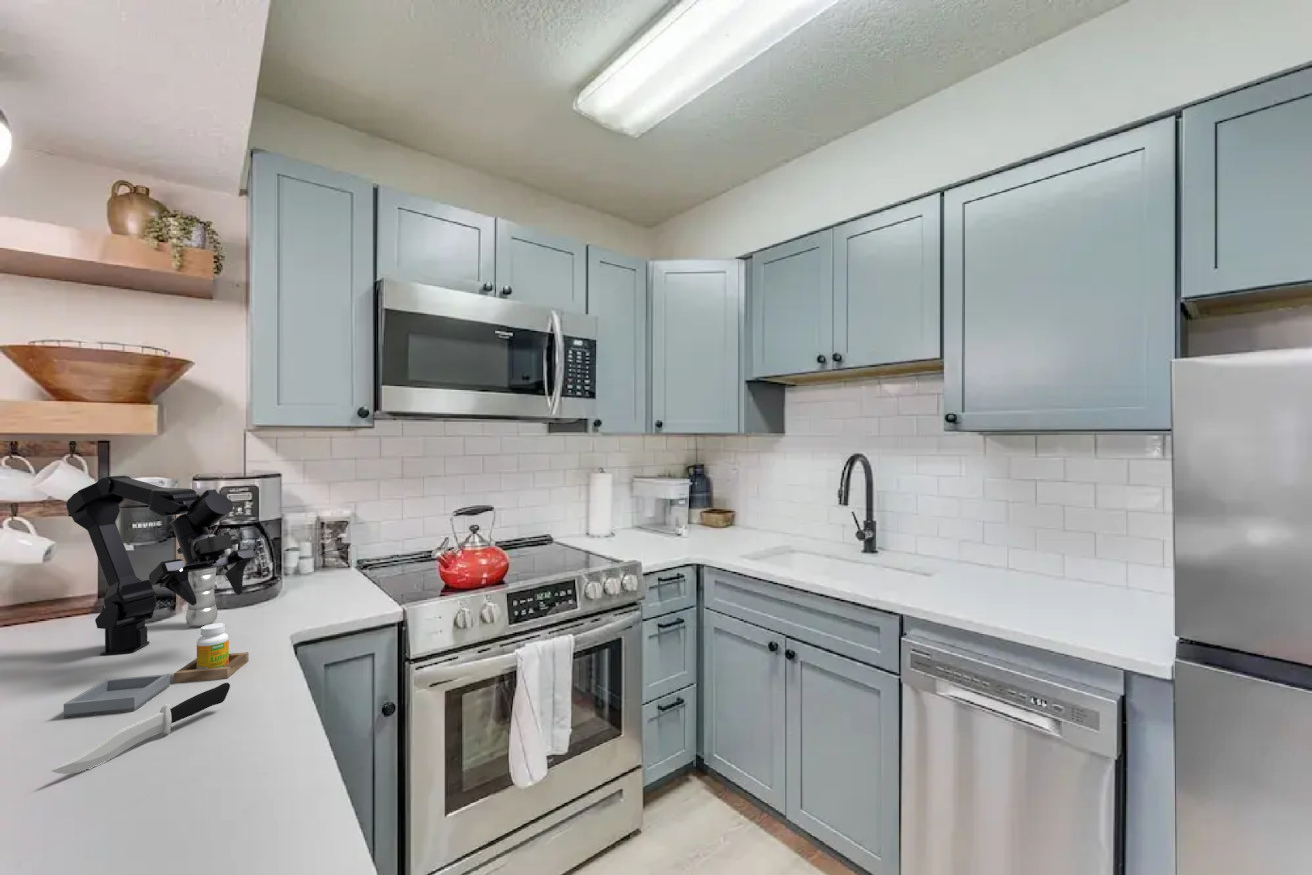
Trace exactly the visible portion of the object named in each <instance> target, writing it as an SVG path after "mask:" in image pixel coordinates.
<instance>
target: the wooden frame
mask: <svg viewBox="0 0 1312 875" xmlns="http://www.w3.org/2000/svg"><path fill="white" fill-rule="evenodd" d="M249 655H250V653H249V652H248V651H247V652H246V651H245V652H236V653H234V652H231V653H229V663H228V664H227V665H226V666H224V667H218V668H207V669H197V657H195V659H193V660H192V661H191V662H189V663H186V665H184V666H182V667H181V668H180V669H178V670H176V671H175V672H174V673H173V684H180V683H181V684H183V683H193V682H204V681H215V680H216V681H217V680H223V679H227V680H228V679H229V678H230V677H231V676H232V675H234V673H236V672H238V671H239V669H241V668H242V667H243V666H244V664H245V665H246V664H247V663H248V662H249V658H250V657H249Z"/></svg>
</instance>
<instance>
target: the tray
mask: <svg viewBox="0 0 1312 875" xmlns="http://www.w3.org/2000/svg"><path fill="white" fill-rule="evenodd" d="M170 677H171V676H170V673H164V674H154V675H152V674H151V675H143V676H142V675H141V676H131V677H119V678H118V677H117V678H110V679H109V678H108V679H105V680H102V681H100V682H99V683H97V684H95V685H94V686H92V687H90V688H89V689H86V691H84V692H82V693H80V694H79V695H77V696H75V697H73V698H71V699H70V700H68V701H66V702H65V703H63V719H67V718H80V716H81V717H89V716H88V715H91V716H99V714H101V715H107V714H108V715H111V714H119V713H118V712H121V713H126V712H125V711H131V712H134V711H133V710H135V711H137V710H138V709H140V708H141V707H143V706H144V705H145V704H147V703H148V702H150V701H152V698H153V697H154V698H155V697H157V696H158V695H159V693H160V694H161V693H162V692H164V691H165V690H167V689H168V688H169V687H170V686H171V685H170V684H171V683H170V681H171V680H170ZM156 695H157V696H156ZM154 698H153V699H154ZM147 701H148V702H147ZM146 702H147V703H146ZM140 706H141V707H140ZM139 707H140V708H139ZM95 714H97V715H95Z"/></svg>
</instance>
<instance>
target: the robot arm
mask: <svg viewBox="0 0 1312 875" xmlns="http://www.w3.org/2000/svg"><path fill="white" fill-rule="evenodd" d="M126 500H131V501H134V502H138V503H141V504H144V505H147V506H148V509H149V511H152V512H153V513H155V514H157V515H159V516H160V517H169V516H177V517H176V518H172V519H170V520H169V523H168V524H167V525H166V528H165V532H174V535H175V538H176V539H177V542H178V546H179V548H178V549H176V551H177V555H181V554H182V556H183V558H184V559H181V558H176V559H172V560H171V559H170V560H166V561H165V560H163V561H161V562H160V563H159V564H157V566H156V567H155V568H153V569H152V570H151V571H150V573H149V575H148V579H145V580H142V579H141V578H139V577H137V575H136V572H135V569H134V566H133V564H132V562H131V560H130V556H129V553H128V551H127V549H126V547H125V543H124V541H123V538H122V535H121V533H120V531H119V530H120V529H119V528H118V525H117V519H118V516H119V515H120V512H121V508H120V505H122V503H123V502H124V501H126ZM65 506H66V510H67V511H68V513H69V515H70V518H72V520H73V522H74V523H75V524H76V525H79V526H80V527H82V528H83V529H84V530H86V531H87V532H88V535H89V537H90V541H91V543H92V545H93V548H94V550H95V554H96V555H97V558H98V562H99V564H100V567H101V570H102V572H103V574H104V577H105V580H106V583H107V585H108V587H107V590H106V593H105V596H104V598H103V603H104V608H103V609H102V610H101V612H100V613H99V614H98V615H97V616H96V618H95V619H94V620H95V625H96V627H97V629H102V630H104V650H103V651H101V652H99V655H100V656H106V655H117V654H118V655H119V654H130V653H134V652H136V651H138V650H140V649H142V648H144V647H145V646H147V645H149V644H150V640H148V627H147V626H146V620H150V619H152V618H153V616H154V611H155V609H156V605H157V597H156V596H157V592H156V591H155V590H154V588H153V586H159V588H165V589H167V590H169V591H171V592H172V593H174V594H176V595H177V596H179V597H180V598H181V599H182V600H184V601H186V602H187V604H188V603H189V604H191V605H192V606H194V605H195V604H196V603H197V601H196V597H195V595H194V592H193V590H192V587H191V585H190V583H189V580H188V572H193V571H199V570H204V569H210V568H221V567H223V569H224V571H226V572H225V573H224V575H225V577H226V579H227V581H228V583H229V584H230V586H231V588H232V590H233V591H234V593H235V594H236V595H237V596H241V595H242V593H243V584H244V582H243V581H244V580H243V579H244V572H245V569H246V567H247V566H248V565H249V564H250V563H251V562H252V561H253V560H255V558H256V557H257V556H256V554H255V552H254V550H253V549H251V548H242V549H235V550H233V551H231V552H230V553H229V554H228V555H227V556H224V557H221V556H223V555H224V554H225V553H226V552H225V550H232V549H233V548H234V546H236V545H238V544H240V542H241V539H240V536H239V533H238V531H237V530H229V531H227V532H225V531H224V533H223V535H216V534H213V533H210V531H209V529H208V528H211V527H213V526H215V525H216V524H217V523H219V522H220V521H221V520H222V519H224V518H225V517H226V516H228V514H230V513H231V512H232V511H233V510H234V503H233V501H232V500H231V499H229V498H228V497H227V496H226V495H225V494H221V493H219V492H218V491H217V490H216V488H215V489H213V488H212V489H207V490H205V491H204V492H203V493H202V494H201V495H199V494H197V491H195V490H194V489H192V488H187V487H186V488H184V487H183V488H182V487H163V486H159V485H157V484H153V483H149V482H145V481H142V480H137V479H134V478H131V476H128V475H111V476H109V475H108V476H107V475H106V476H104V477H101V478H100V479H99V480H98V481H96V482H95V483H92V484H90V485H88V486H85V487H83V488H80V489H79V490H78V491H76V492H75V493H73V494H72V495H71V496H70V497H69V498H68V499H67V501H66V505H65ZM184 560H185V561H184Z"/></svg>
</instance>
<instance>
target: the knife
mask: <svg viewBox="0 0 1312 875" xmlns="http://www.w3.org/2000/svg"><path fill="white" fill-rule="evenodd" d="M230 688H231V684H230V683H229V682H223V683H221V684H219V685H217V686H215V687H213V688H211V689H208V690H205V691H203V692H200V693H198V694H196V695H194V696H192V697H190V698H187V699H186V700H184V701H181V703H178V704H177V705H175V706H173V707H171V704H170V703H169V704H168V703H166V704H164V705H163V706H162V707H161V708H160V711H159V712H158V713H155V714H152V715H150V716H148V717H146V718H143V719H141V720H139V721H136V722H134V723H133V724H130V725H128V726H124V727H123V728H121V729H119V730H117V731H115V732H114V733H112V734H111V735H109V736H108V737H106V738H105V739H104V740H102V741H101V742H100V743H98V744H96V745H95V746H94V747H92V748H90V749H89V750H87V751H85V752H83V753H81V754H80V755H78V756H76V757H74V758H72V759H70V760H68V761H67V762H65V763H63V764H61V765H59V766H57V767H55V768H54V769H51V772H52V773H56V774H62V775H67V774H76V773H80V772H81V771H82V772H84V771H83V770H85V771H87V770H86V769H89V768H91V767H93V766H95V765H98V764H100V763H103V762H104V761H107V762H109V761H111V760H112V759H114V758H116V757H117V756H118V755H120V754H122V753H123V752H125V751H126V750H128V749H129V748H132V747H133V746H135V745H137V744H139V743H140V742H142V741H145V740H147V739H149V738H150V737H153V736H155V735H157V734H159V733H163V734H166V735H168V734H171V727H172V724H174V723H176V722H179V721H181V720H184V719H186V718H188V717H191V716H193V715H195V714H197V713H200V712H202V711H203V710H206V709H208V708H210V707H212V706H216V705H219V704H221V703H224V701H225V700H226V697H227V696H228V693H229V690H230ZM110 759H111V760H110ZM108 760H109V761H108ZM89 770H90V769H89ZM82 772H81V773H82Z"/></svg>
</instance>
